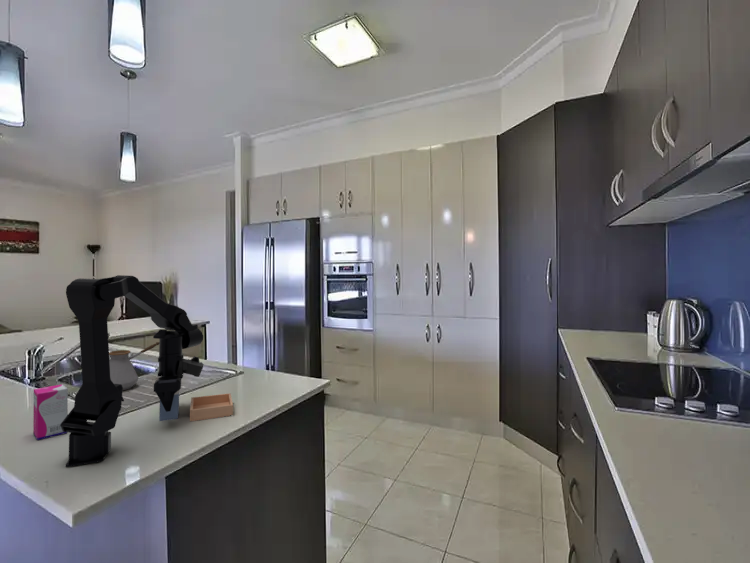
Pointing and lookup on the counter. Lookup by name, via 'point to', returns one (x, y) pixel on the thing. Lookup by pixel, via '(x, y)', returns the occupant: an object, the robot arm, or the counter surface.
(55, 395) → the supplement box
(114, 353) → the coffee pot
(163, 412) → the block
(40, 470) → the counter surface
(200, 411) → the bin
